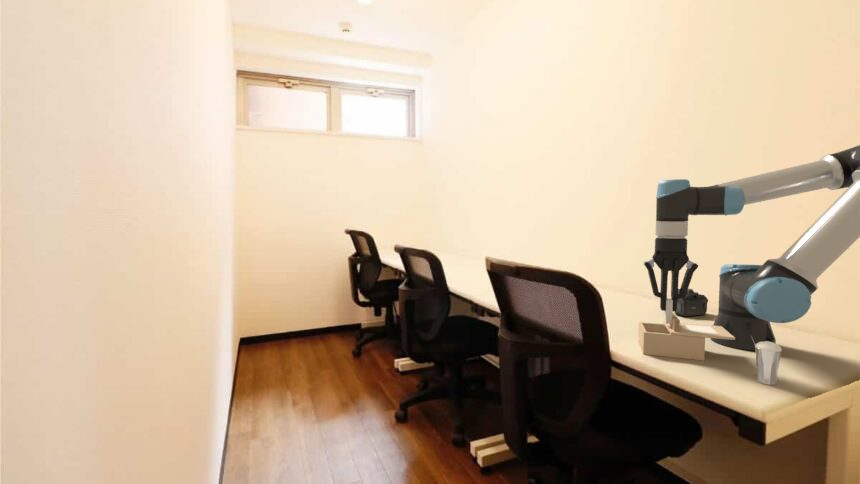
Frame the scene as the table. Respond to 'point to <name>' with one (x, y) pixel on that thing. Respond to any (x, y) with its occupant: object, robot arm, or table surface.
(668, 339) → the box
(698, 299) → the camera
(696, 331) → the lid
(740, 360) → the table surface
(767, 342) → the milkshake
